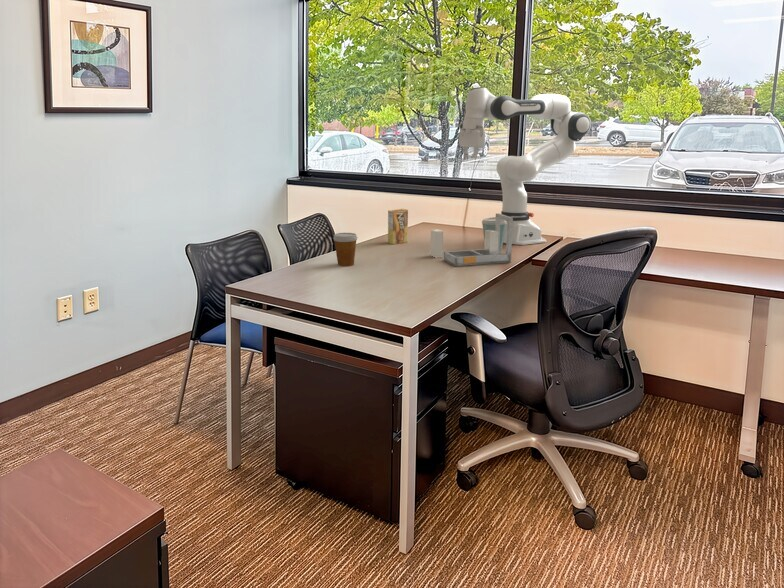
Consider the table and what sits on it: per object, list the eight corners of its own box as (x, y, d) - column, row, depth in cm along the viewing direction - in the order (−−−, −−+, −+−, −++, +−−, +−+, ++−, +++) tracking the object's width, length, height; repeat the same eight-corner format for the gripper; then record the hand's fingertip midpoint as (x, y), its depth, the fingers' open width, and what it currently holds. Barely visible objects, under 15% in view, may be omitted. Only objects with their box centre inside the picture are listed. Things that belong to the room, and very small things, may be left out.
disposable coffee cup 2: (486, 255, 268) (488, 220, 264) (476, 250, 278) (477, 216, 274) (509, 254, 270) (511, 219, 266) (499, 249, 280) (500, 215, 276)
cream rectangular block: (438, 255, 269) (438, 229, 266) (442, 257, 265) (443, 231, 262) (430, 255, 268) (430, 229, 265) (434, 257, 264) (435, 231, 261)
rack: (497, 256, 266) (499, 213, 261) (511, 262, 255) (513, 217, 250) (443, 260, 259) (444, 216, 254) (455, 266, 248) (456, 220, 243)
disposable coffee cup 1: (333, 262, 256) (333, 232, 253) (357, 261, 257) (357, 232, 254) (333, 267, 247) (332, 236, 244) (358, 267, 248) (357, 236, 245)
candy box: (402, 241, 300) (402, 208, 296) (408, 242, 297) (408, 209, 293) (387, 243, 295) (387, 210, 291) (393, 244, 292) (393, 211, 288)
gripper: (490, 126, 269) (486, 159, 272) (470, 126, 288) (467, 157, 291) (476, 124, 267) (472, 158, 270) (458, 125, 286) (454, 156, 289)
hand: (469, 157), depth 281 cm, fingers open, 8 cm apart
